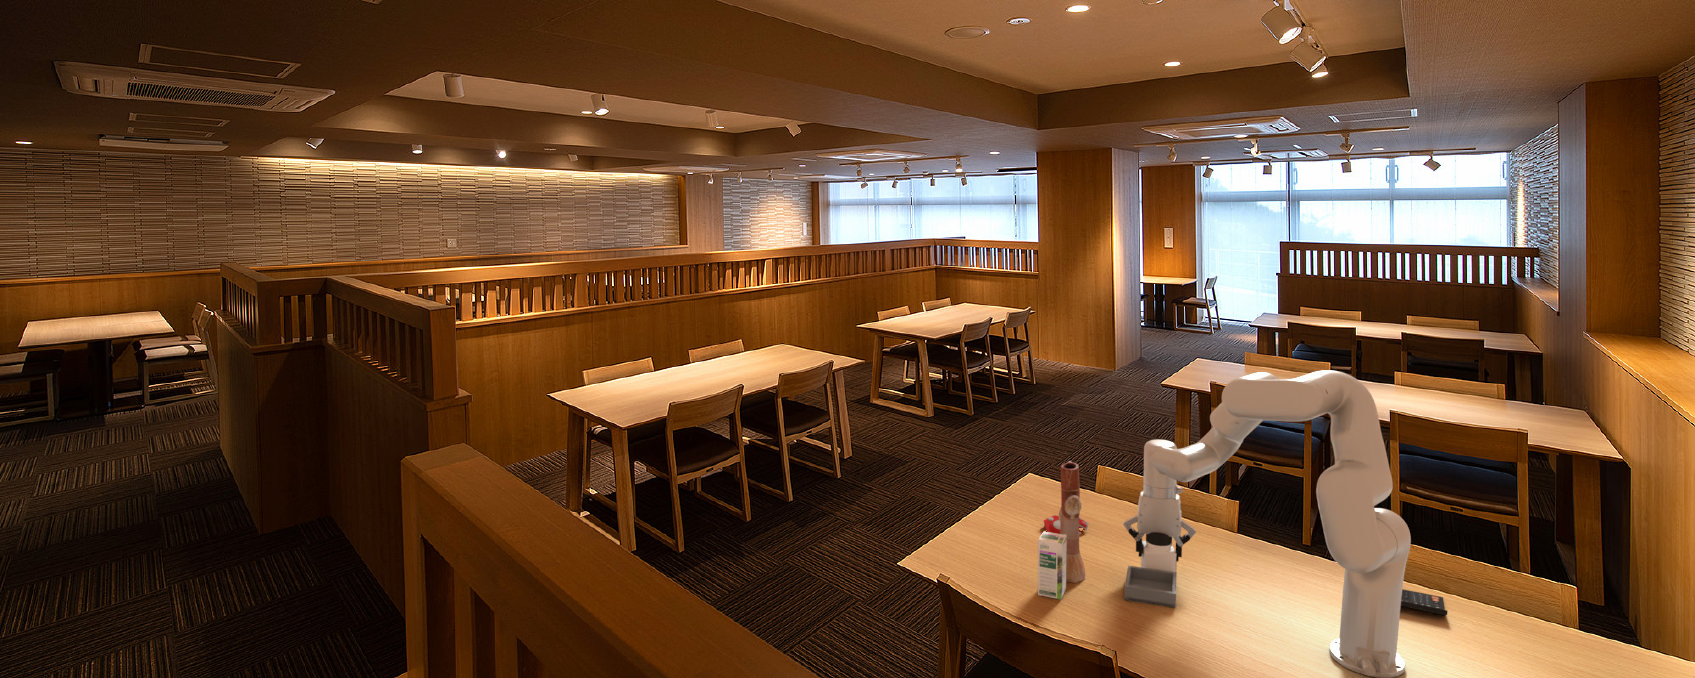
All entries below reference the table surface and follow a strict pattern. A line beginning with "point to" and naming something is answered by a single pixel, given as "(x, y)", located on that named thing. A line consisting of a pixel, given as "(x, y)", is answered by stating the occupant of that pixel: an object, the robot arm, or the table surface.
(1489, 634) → the table surface
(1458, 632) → the table surface
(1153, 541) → the medicine bottle
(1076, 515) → the vase
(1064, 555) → the syrup box
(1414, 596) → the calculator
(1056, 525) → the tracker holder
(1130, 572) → the bin
